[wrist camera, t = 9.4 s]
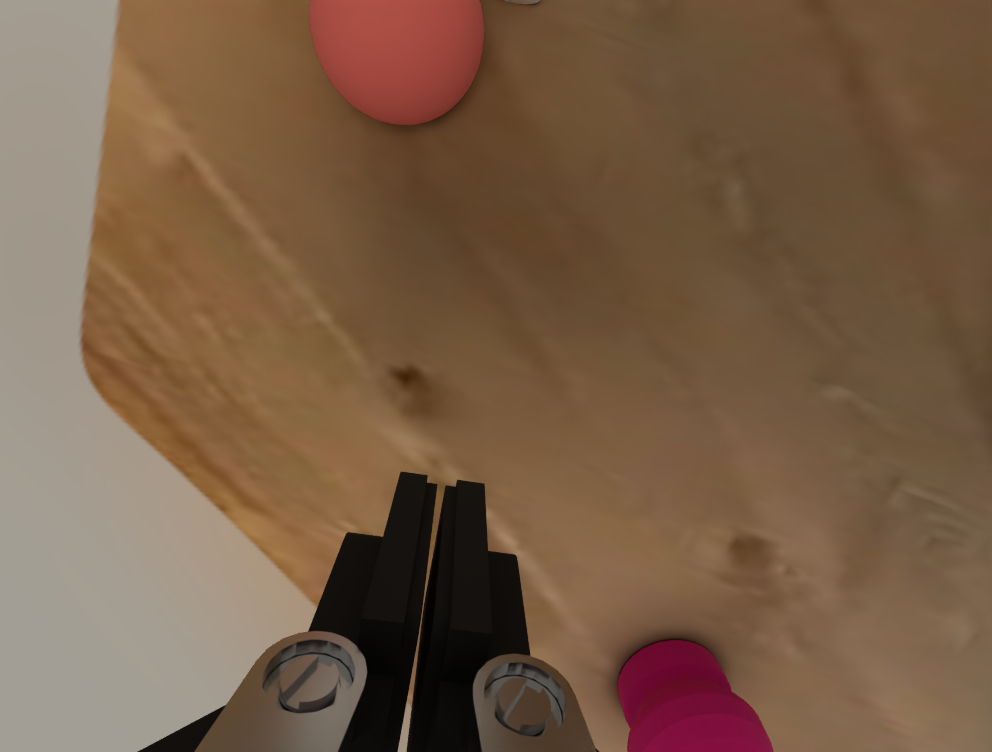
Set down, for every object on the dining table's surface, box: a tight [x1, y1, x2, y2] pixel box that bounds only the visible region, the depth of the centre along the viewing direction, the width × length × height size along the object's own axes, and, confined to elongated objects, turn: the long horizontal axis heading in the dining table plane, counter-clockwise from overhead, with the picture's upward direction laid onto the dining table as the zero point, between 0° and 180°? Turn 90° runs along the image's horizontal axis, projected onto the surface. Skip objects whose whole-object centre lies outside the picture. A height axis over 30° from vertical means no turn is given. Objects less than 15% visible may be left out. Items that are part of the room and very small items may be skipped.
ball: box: [309, 0, 484, 125], centre depth 19 cm, size 6×6×6 cm
